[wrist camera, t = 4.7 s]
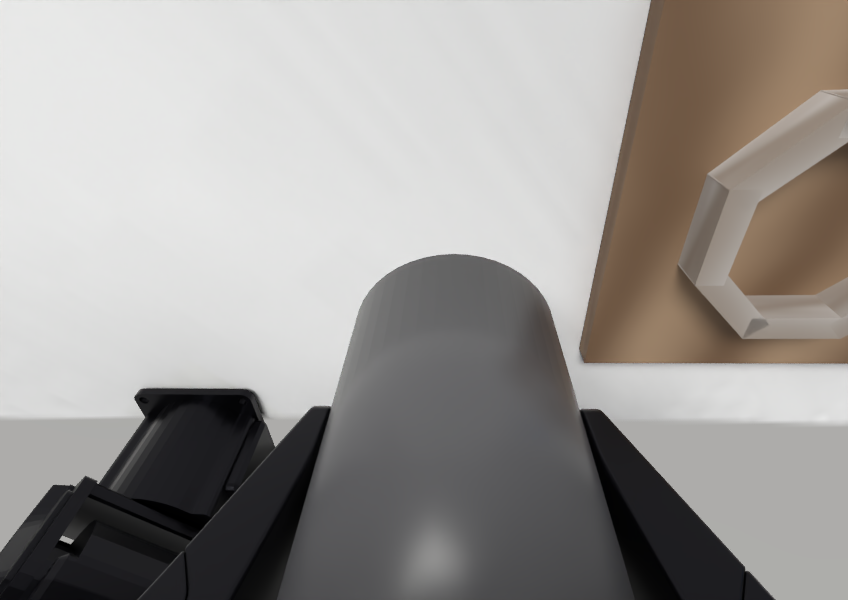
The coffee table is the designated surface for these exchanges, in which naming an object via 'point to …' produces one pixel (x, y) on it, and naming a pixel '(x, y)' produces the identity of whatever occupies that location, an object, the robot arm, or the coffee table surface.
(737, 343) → the collar holder
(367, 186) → the coffee table surface
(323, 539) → the lens cylinder
